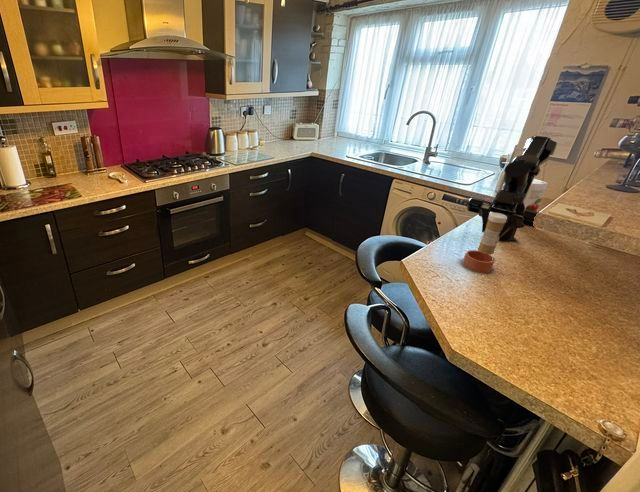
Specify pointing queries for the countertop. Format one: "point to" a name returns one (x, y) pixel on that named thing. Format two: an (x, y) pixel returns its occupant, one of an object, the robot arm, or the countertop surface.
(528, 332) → the countertop surface
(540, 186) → the juice carton
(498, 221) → the sprinkles bottle
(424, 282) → the countertop surface
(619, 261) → the countertop surface
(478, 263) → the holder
